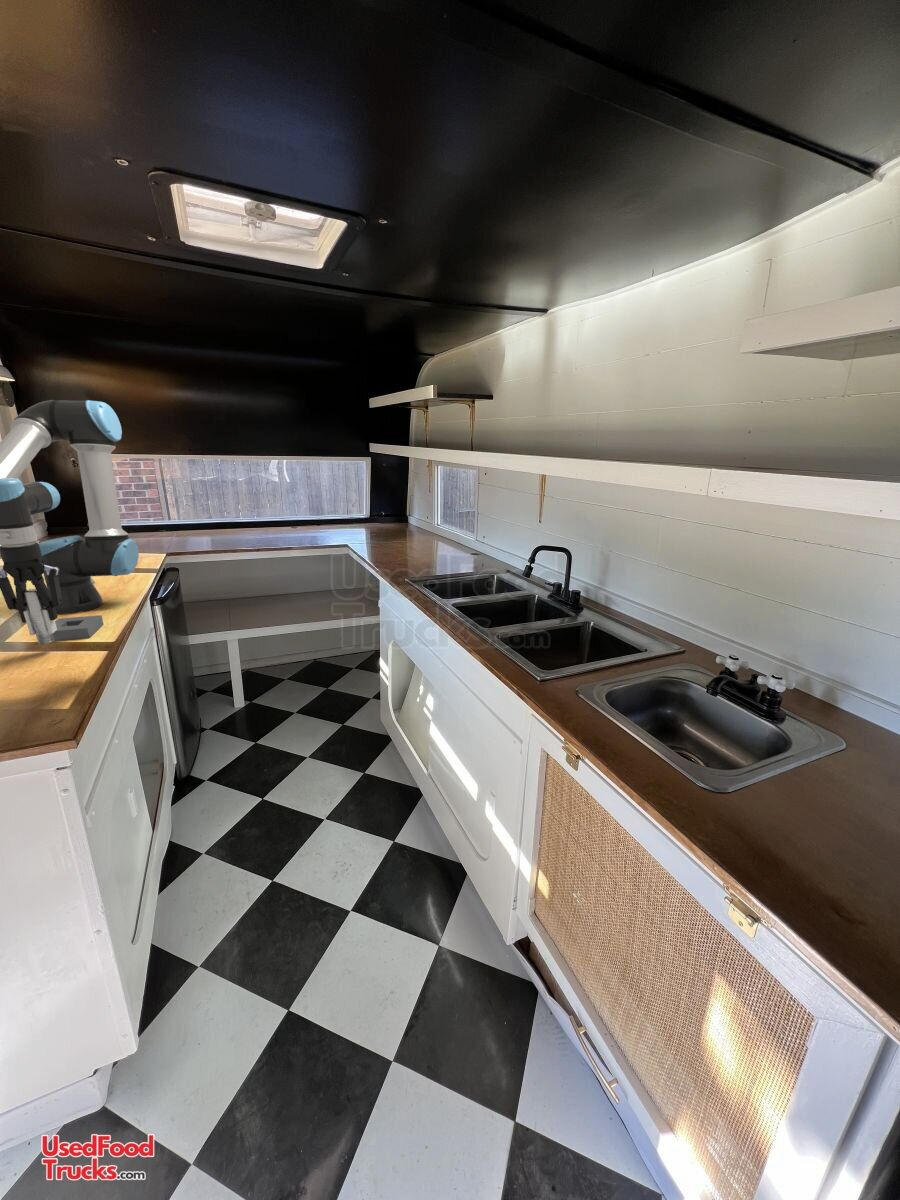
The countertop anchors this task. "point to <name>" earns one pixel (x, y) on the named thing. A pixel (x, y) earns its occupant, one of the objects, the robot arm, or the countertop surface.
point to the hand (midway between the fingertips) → (43, 632)
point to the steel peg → (38, 616)
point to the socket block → (77, 627)
